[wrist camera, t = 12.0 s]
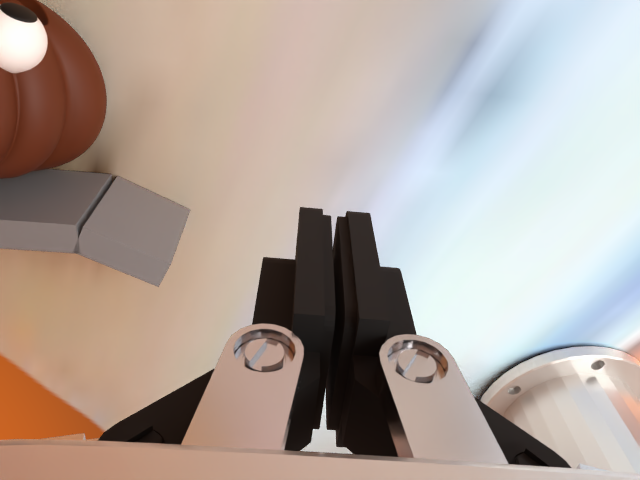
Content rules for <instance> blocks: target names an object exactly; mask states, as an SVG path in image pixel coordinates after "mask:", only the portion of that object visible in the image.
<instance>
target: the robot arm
mask: <svg viewBox="0 0 640 480" xmlns="http://www.w3.org/2000/svg"><path fill="white" fill-rule="evenodd" d="M325 388H326V425H327V430H336V447H347V448H348V449H349V450H350V451H351V452H352V453H353V454H339V453H322V452H305V451H300V450H302V449H303V448H304V447H305V446H307V445H308V444H309V443H310V442H311V438H312V430H313V429H319V427H320V421H321V414H322V408H323V401H324V395H325ZM0 480H640V361H638V360H637V359H636V358H635V357H633V356H631V355H629V354H627V353H625V352H623V351H619V350H615V349H611V348H606V347H595V346H584V347H570V348H565V349H559V350H554V351H551V352H548V353H544V354H541V355H538V356H535V357H533V358H531V359H529V360H527V361H524V362H522V363H520V364H518V365H517V366H515V367H514V368H512V369H510V370H509V371H507V372H506V373H504V374H503V375H502V376H501V377H500V378H498V379H497V380H496V381H495V382H494V383H493V384H492V385H491V386H490V387H489V388H488V390H487V391H486V392H485V393H484V394H483V396H482V398H481V400H478V399H477V398H475V397H474V396H473V394H472V392H471V391H470V389H469V387H468V385H467V383H466V381H465V379H464V377H463V375H462V373H461V371H460V369H459V367H458V365H457V364H456V362H455V360H454V358H453V357H452V355H451V354H450V353H449V351H448V350H447V349H445V348H444V347H443V346H442V345H440V344H439V343H437V342H435V341H433V340H431V339H429V338H426V337H423V336H419V335H416V331H415V327H414V322H413V318H412V314H411V310H410V306H409V302H408V298H407V294H406V290H405V286H404V282H403V278H402V274H401V271H400V269H399V268H391V267H380V264H379V258H378V253H377V248H376V242H375V237H374V232H373V227H372V221H371V216H370V213H361V212H350V211H347V212H346V216H345V217H339V216H338V217H337V222H336V229H335V237H334V244H333V247H332V227H331V216H328V215H323V209H315V208H304V207H300V212H299V223H298V234H297V245H296V256H295V260H293V259H280V258H268V257H264V258H263V262H262V268H261V274H260V280H259V286H258V292H257V298H256V305H255V311H254V317H253V323H252V325H249V326H247V327H244V328H241V329H239V330H238V331H237V332H235V333H234V334H233V335H231V337H230V338H229V340H228V341H227V343H226V345H225V347H224V349H223V352H222V354H221V356H220V358H219V361H218V363H217V365H216V367H215V369H213V370H211V371H209V372H208V373H206V374H204V375H202V376H200V377H199V378H197V379H195V380H193V381H192V382H190V383H188V384H186V385H184V386H183V387H181V388H179V389H177V390H175V391H174V392H172V393H170V394H168V395H167V396H165V397H163V398H161V399H159V400H158V401H156V402H154V403H152V404H151V405H149V406H147V407H145V408H143V409H142V410H140V411H138V412H136V413H135V414H133V415H131V416H129V417H127V418H126V419H124V420H122V421H120V422H119V423H117V424H115V425H114V426H112V427H111V428H110V429H108V430H107V431H106V432H104V433H103V434H102V436H101V437H100V438H96V439H88V440H86V439H85V434H84V433H83V434H75V435H67V436H60V437H52V438H45V439H13V440H0Z"/></svg>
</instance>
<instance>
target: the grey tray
mask: <svg viewBox="0 0 640 480" xmlns="http://www.w3.org/2000/svg"><path fill="white" fill-rule="evenodd" d="M189 212H190V209H188V208H186V207H183V206H181V205H179V204H177V203H175V202H173V201H170V200H168V199H166V198H164V197H162V196H160V195H158V194H155V193H153V192H151V191H149V190H147V189H145V188H143V187H140V186H138V185H136V184H134V183H132V182H130V181H127V180H125V179H123V178H121V177H119V176H117V177H116V179H115V180H114V182H113V183H112V176H111V174H104V173H91V172H78V171H66V170H53V169H45V170H38V171H31V172H29V173H27V174H24V175H21V176H18V177H13V178H4V179H0V248H1V249H17V250H32V251H47V252H63V253H76V254H79V255H81V256H84V257H86V258H89V259H91V260H94V261H96V262H99V263H101V264H103V265H106V266H108V267H111V268H113V269H116V270H118V271H121V272H123V273H126V274H128V275H130V276H133V277H135V278H138V279H140V280H143V281H145V282H148V283H150V284H152V285H155V286H157V287H159V285H160V283H161V281H162V280H163V278H164V276H165V274H166V272H167V270H168V268H169V267H170V265H171V262H172V259H173V257H174V254H175V251H176V248H177V246H178V243H179V240H180V237H181V234H182V232H183V229H184V226H185V223H186V221H187V218H188V215H189Z"/></svg>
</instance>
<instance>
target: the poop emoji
mask: <svg viewBox="0 0 640 480" xmlns="http://www.w3.org/2000/svg"><path fill="white" fill-rule="evenodd" d="M106 103H107V100H106V89H105V84H104V80H103V76H102V73H101V70H100V68H99V65H98V63H97V61H96V59H95V57H94V56H93V54H92V52H91V51H90V49H89V47H88V46H87V45H86V43H85V42H84V41H83V39H82V38H81V37H80V36H79V35H78V33H77V32H76V31H75V30H74V29H73V28H72V27H71V26H70V25H69V24H68V23H67V22H66V21H65V20H63V19H62V18H61V17H60V16H59V15H57V14H56V13H55V12H54V11H52V10H51V9H49V8H48V7H47V6H45V5H44V4H42V3H40V2H39V1H37V0H0V179H4V178H13V177H18V176H21V175H24V174H27V173H29V172H31V171H38V170H45V169H49V168H53V167H57V166H60V165H63V164H65V163H68V162H70V161H72V160H73V159H75V158H77V157H78V156H80V155H81V154H82V153H84V152H85V151H86V150H87V149H88V148H89V147H90V146H91V145H92V144H93V142H94V141H95V140H96V138H97V136H98V135H99V133H100V131H101V128H102V126H103V122H104V119H105V114H106Z"/></svg>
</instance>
